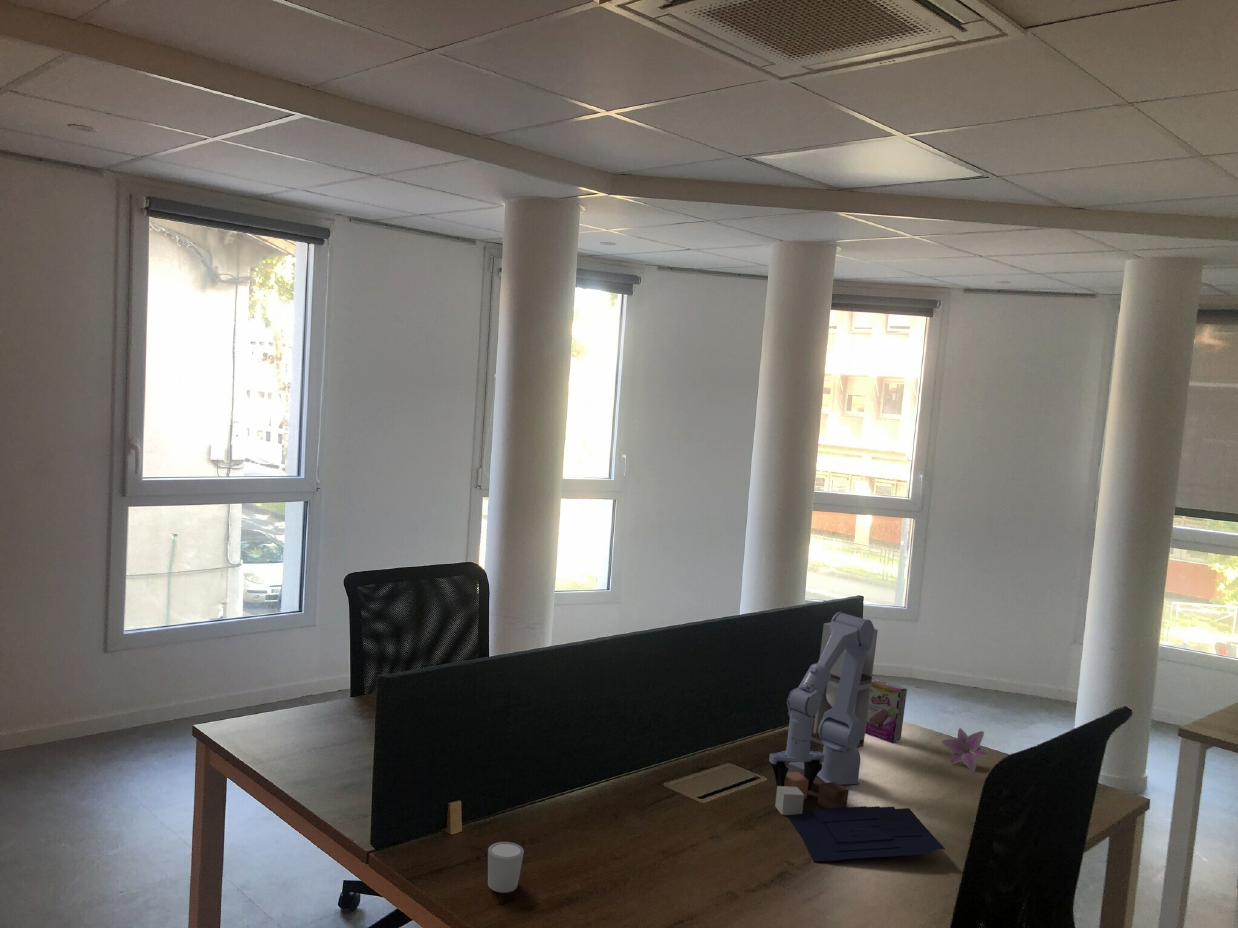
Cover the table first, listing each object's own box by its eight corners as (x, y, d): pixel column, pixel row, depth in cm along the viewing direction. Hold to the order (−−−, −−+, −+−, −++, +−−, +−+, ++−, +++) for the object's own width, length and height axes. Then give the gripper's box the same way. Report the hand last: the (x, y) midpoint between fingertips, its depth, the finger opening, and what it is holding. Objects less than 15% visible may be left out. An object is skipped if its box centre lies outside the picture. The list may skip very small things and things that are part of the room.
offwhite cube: (794, 806, 232) (796, 786, 232) (801, 815, 227) (804, 794, 227) (775, 806, 232) (777, 785, 231) (781, 814, 227) (784, 793, 226)
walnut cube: (831, 800, 239) (833, 781, 238) (846, 808, 234) (848, 789, 234) (817, 803, 236) (819, 784, 235) (832, 812, 232) (834, 792, 231)
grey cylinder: (485, 874, 186) (489, 840, 186) (521, 876, 187) (524, 842, 186) (483, 893, 179) (487, 857, 179) (520, 895, 180) (523, 859, 179)
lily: (934, 758, 279) (936, 735, 274) (965, 740, 283) (967, 718, 278) (965, 786, 270) (968, 762, 265) (996, 767, 274) (999, 744, 269)
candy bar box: (859, 732, 292) (866, 679, 291) (868, 729, 296) (874, 677, 295) (893, 744, 285) (900, 690, 283) (901, 740, 288) (907, 687, 287)
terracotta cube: (796, 790, 243) (798, 771, 242) (806, 799, 238) (808, 779, 237) (778, 791, 241) (781, 772, 240) (788, 800, 236) (791, 780, 236)
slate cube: (795, 777, 251) (798, 758, 251) (812, 783, 248) (814, 765, 248) (786, 781, 248) (788, 763, 247) (803, 788, 244) (805, 769, 244)
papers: (949, 865, 207) (949, 849, 207) (814, 874, 205) (814, 857, 204) (905, 815, 231) (906, 800, 231) (784, 822, 229) (784, 807, 229)
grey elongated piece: (810, 739, 281) (823, 623, 278) (830, 733, 288) (844, 620, 286) (842, 753, 273) (857, 633, 270) (863, 746, 280) (877, 629, 277)
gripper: (816, 730, 244) (810, 781, 245) (766, 731, 240) (760, 784, 241) (831, 740, 238) (824, 793, 239) (779, 742, 233) (773, 796, 234)
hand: (793, 789), depth 239 cm, fingers open, 7 cm apart
